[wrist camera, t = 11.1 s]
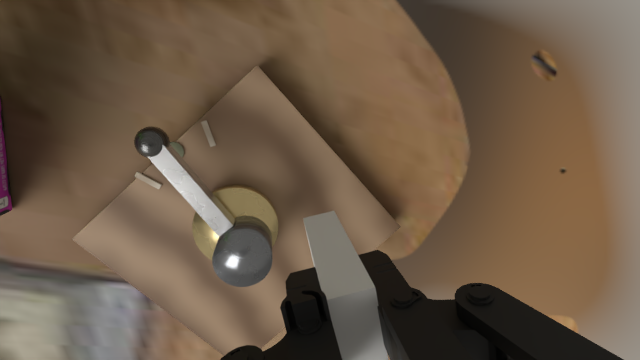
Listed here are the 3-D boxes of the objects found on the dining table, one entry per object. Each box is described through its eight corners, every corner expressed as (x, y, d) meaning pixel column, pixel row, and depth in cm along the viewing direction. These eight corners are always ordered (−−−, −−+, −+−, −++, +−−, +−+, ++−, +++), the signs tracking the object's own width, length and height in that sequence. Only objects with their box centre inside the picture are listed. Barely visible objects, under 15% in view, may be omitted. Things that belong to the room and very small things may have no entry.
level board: (240, 354, 41) (238, 368, 39) (79, 228, 35) (67, 237, 32) (394, 220, 39) (401, 227, 37) (255, 63, 33) (254, 61, 31)
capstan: (293, 229, 35) (298, 254, 30) (230, 274, 36) (223, 307, 30) (189, 99, 31) (172, 101, 25) (117, 152, 31) (86, 165, 26)
